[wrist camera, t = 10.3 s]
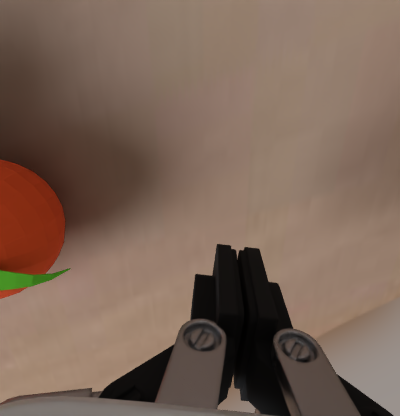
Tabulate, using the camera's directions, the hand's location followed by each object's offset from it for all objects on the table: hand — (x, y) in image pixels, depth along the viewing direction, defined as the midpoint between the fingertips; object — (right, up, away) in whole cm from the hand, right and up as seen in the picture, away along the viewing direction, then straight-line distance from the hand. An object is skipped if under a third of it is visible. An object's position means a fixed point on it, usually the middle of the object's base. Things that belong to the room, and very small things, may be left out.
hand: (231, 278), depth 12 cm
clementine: (-11, +3, +6) cm, 13 cm away
